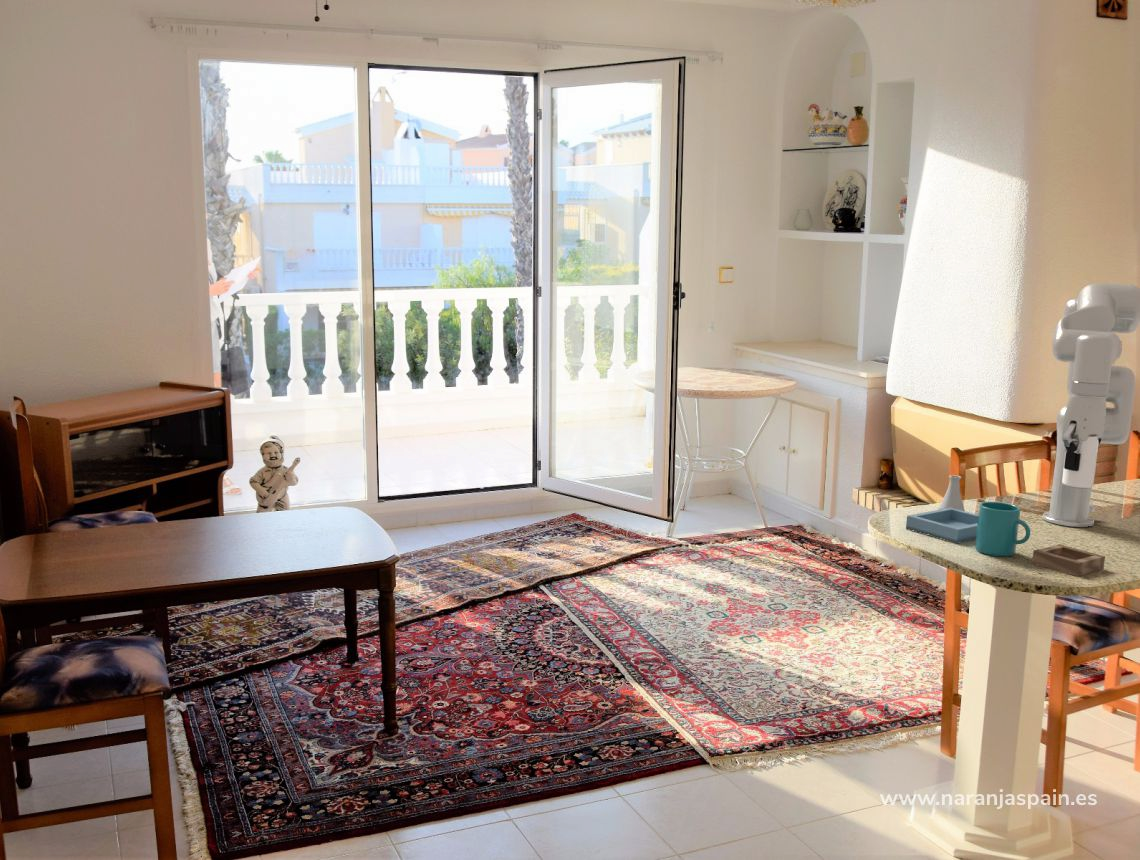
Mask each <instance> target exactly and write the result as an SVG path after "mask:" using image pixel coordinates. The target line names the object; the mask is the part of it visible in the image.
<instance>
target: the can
mask: <svg viewBox="0 0 1140 860" xmlns="http://www.w3.org/2000/svg"><path fill="white" fill-rule="evenodd" d="M1073 438H1074V439H1078V437H1074V436H1073ZM1098 443H1099V442H1098V439H1097V435H1096V436H1088V439H1087V440H1086V441H1082V444H1081V448H1080V451H1079V454H1081V457H1080V465H1079V470H1078V471H1072V470H1068V469H1065V468H1064V469H1063V478H1062V483H1063V484H1064V485H1065V486H1068V487H1072V488H1080V489H1089V488H1091V487H1092V488H1093V486H1094V482H1095V474H1096V466H1097V459H1098ZM1074 444H1075V446H1076V444H1077V442H1074ZM1065 456H1066V453H1065ZM1064 464H1065V461H1064Z"/></svg>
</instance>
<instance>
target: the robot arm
mask: <svg viewBox="0 0 1140 860" xmlns="http://www.w3.org/2000/svg"><path fill="white" fill-rule="evenodd" d="M1063 310H1064V311H1063V315H1064V316H1063V317H1062V318H1060V319H1059V321H1058V322H1057V323H1056V325H1055V328H1054V332H1053V339H1052V354H1053V357H1054V358H1055V360H1057V361H1059V362H1063V363H1068V371H1067V381H1066V389H1067V393H1068V395H1069V398H1068V400H1067V403H1066V405H1064V406H1062V407H1061V408H1060V409H1059V410H1058V413H1057V415H1056V453H1055V454H1056V455H1055V462H1054V470H1053V471H1054V472H1053V478H1052V479H1053V480H1052V486H1051V496H1050V504H1049V511H1045V512H1043V513H1042V519H1043V520H1044V521H1045V522H1048V523H1051V524H1056V525H1060V526H1065V527H1074V528H1087V527H1088V526H1089V527H1092V526H1094V524H1095V520H1094V519H1093V518H1091V517H1090V516H1089V513H1092V512H1095V511H1096V506H1095V505H1094V504H1091V496H1092V489H1093V487H1091V488H1089V489H1080V488H1072V487H1068V486H1065V485H1064V484H1063V483H1062V478H1063V469H1064V468H1065V469H1068V470H1072V471H1078V470H1079V465H1080V457H1081V454H1079V451H1080V448H1081V444H1082V441H1086V440H1087V439H1088V436H1096V435H1097V439H1098V442H1099V443H1098V450H1099V449H1100V444H1107V445H1108V444H1109V445H1122V444H1125V443H1126V442H1127V441H1128V439H1129V436H1130V433H1131V432H1130V431H1131V425H1132V417H1133V408H1134V401H1135V391H1136V390H1135V389H1136V377H1135V373H1134V371H1133V370H1132V369H1131V368H1129V367H1126V366H1121V365H1120V366H1119V365H1112V364H1115V363H1116V361H1117V360H1118V359H1120V357H1121V355H1122V351H1123V343H1122V340H1121V338H1120V337H1119V335H1118V334H1131V333H1134V332H1136V330H1137V329H1138V327H1139V326H1140V287H1139V286H1137V285H1134V284H1127V283H1125V284H1124V283H1122V284H1121V283H1108V282H1107V283H1105V282H1096V283H1095V282H1094V283H1091V284H1088V285H1086V286H1085V287H1083V288H1082V289H1081V290H1080V291H1079V294H1078V297H1077V298H1076V297H1075V298H1071V299H1069V300H1068V301H1067V302H1066V303H1065V306H1064V309H1063ZM1117 333H1118V334H1117ZM1107 403H1110V404H1112V405H1113V407H1107ZM1073 436H1074V437H1078V439H1074V438H1073ZM1074 442H1077V444H1076V446H1075V444H1074ZM1065 453H1066V456H1065ZM1064 461H1065V464H1064Z"/></svg>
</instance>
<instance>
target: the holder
mask: <svg viewBox="0 0 1140 860" xmlns="http://www.w3.org/2000/svg"><path fill="white" fill-rule="evenodd" d="M1032 551H1033V553H1032V559H1031V563H1032V564H1033V565H1036V564H1037V566H1040V567H1043V568H1044V567H1045V568H1047V569H1050V570H1054V571H1058V572H1061V573H1063V574H1064V573H1065V574H1069V575H1072V576H1075V577H1080V576H1083V575H1087V574H1090V573H1094V572H1098V571H1101V569H1102V570H1104V569H1105V560H1106V556H1105V555H1101V554H1098V553H1094V552H1091V551H1090V552H1089V551H1086V550H1082V549H1078V548H1076V547H1071V546H1068V545H1065V544H1061V543H1060V544H1056V545H1051V546H1048V547H1044V548H1038V549H1034V550H1032Z"/></svg>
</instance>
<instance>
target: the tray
mask: <svg viewBox="0 0 1140 860" xmlns="http://www.w3.org/2000/svg"><path fill="white" fill-rule="evenodd" d="M978 515H979V514H977V513H973V512H969V511H962V510H958V509H954V508H945V509H940V510H939V509H935V510H930V511H924V512H919V513H914V514H909V515H907V516H906V522H905V523H906V524H905V530H908V529H910V530H909V531H911V530H914V531H913V532H915V531H917V532H916V533H918V532H921V533H920V534H922V533H925V534H929V535H932V536H935V537H934V538H936V537H938V538H937V539H939V538H942V539H941V540H943V539H945V540H944V541H946V540H948V541H947V542H950V541H951V542H950V543H953V542H954V544H960V543H959V542H962V543H965V541H966V542H970V541H969V540H971V541H976V533H977V524H978ZM925 534H924V535H925ZM929 535H928V536H929ZM932 536H931V537H932Z"/></svg>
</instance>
